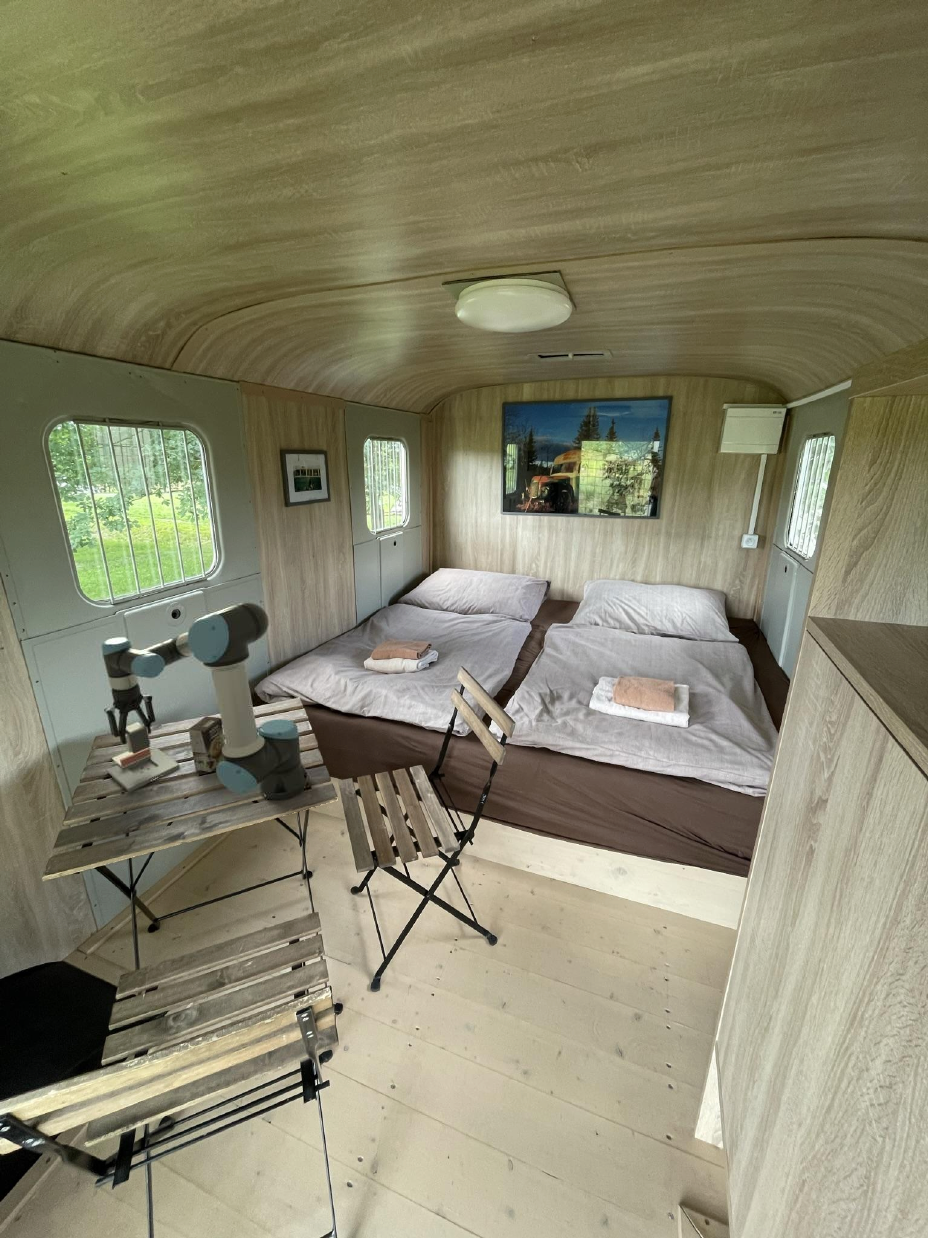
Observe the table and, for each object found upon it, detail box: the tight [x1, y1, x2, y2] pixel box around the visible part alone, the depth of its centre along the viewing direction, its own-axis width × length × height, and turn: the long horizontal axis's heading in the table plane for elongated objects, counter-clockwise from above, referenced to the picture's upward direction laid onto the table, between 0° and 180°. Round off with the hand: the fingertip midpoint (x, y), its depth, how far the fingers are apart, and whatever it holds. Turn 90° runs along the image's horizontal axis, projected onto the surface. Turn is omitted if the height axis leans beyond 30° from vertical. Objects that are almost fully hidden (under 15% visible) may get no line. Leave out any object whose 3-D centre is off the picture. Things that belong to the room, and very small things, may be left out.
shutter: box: [112, 747, 151, 768], centre depth 174 cm, size 8×9×3 cm
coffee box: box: [188, 715, 226, 773], centre depth 173 cm, size 9×6×16 cm
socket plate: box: [106, 747, 181, 793], centre depth 171 cm, size 16×16×1 cm
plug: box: [126, 721, 151, 754], centre depth 166 cm, size 5×5×8 cm
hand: (138, 746), depth 168 cm, fingers closed on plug, 5 cm apart
